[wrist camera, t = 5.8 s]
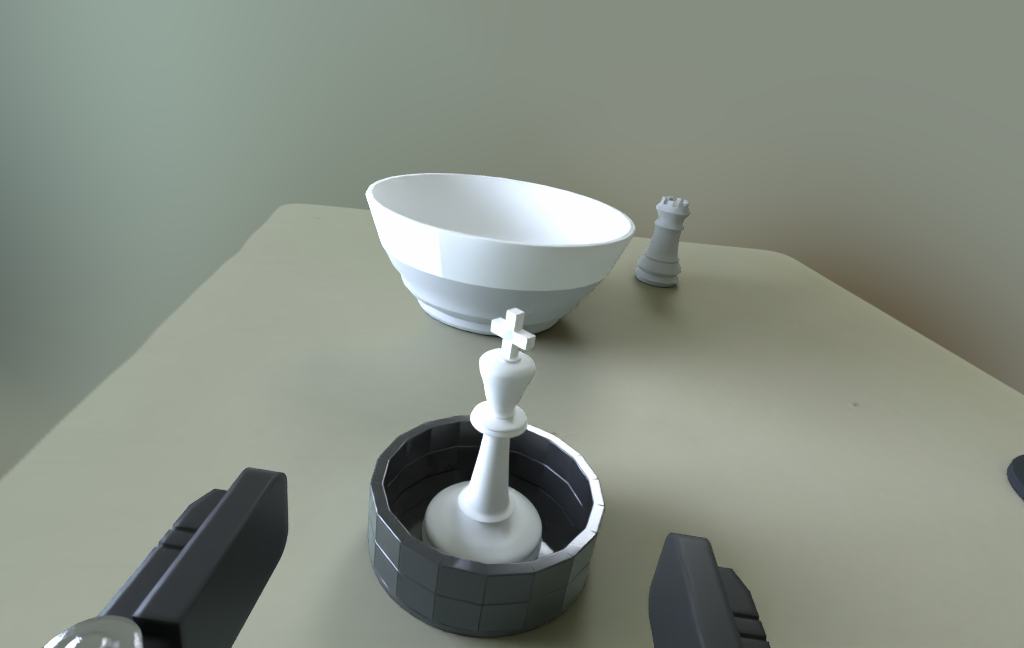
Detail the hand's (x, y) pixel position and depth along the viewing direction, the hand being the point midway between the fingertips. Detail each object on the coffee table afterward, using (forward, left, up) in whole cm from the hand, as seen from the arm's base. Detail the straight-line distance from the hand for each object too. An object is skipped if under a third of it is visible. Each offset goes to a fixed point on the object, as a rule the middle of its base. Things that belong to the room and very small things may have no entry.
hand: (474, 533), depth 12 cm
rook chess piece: (+30, -37, -9) cm, 49 cm away
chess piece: (+7, -5, -9) cm, 13 cm away
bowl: (+28, -17, -9) cm, 34 cm away
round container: (+7, -5, -9) cm, 13 cm away
